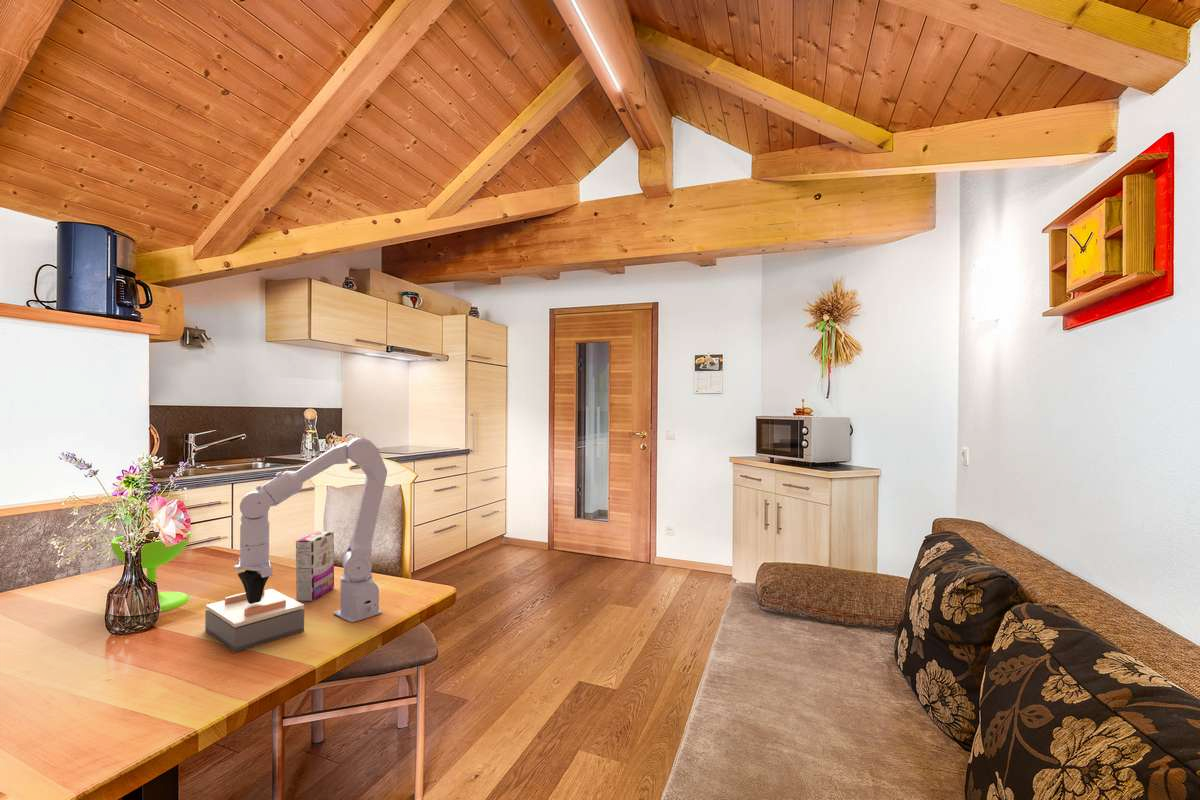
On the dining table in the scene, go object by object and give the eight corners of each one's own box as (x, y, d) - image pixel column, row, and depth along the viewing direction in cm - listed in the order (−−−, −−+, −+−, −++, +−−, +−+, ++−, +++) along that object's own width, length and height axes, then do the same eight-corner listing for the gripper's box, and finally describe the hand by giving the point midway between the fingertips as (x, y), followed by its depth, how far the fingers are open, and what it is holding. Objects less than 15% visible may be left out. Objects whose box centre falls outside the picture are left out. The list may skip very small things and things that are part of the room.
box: (304, 631, 125) (304, 609, 125) (234, 652, 114) (234, 629, 114) (271, 613, 136) (271, 593, 136) (205, 631, 125) (205, 609, 125)
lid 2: (304, 608, 125) (304, 598, 125) (234, 627, 114) (234, 617, 114) (287, 599, 130) (287, 590, 130) (219, 617, 119) (219, 607, 119)
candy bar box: (317, 587, 155) (317, 530, 155) (334, 588, 154) (335, 530, 155) (294, 601, 143) (295, 540, 144) (313, 602, 143) (313, 540, 144)
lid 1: (287, 599, 130) (287, 590, 130) (219, 617, 119) (219, 607, 119) (271, 591, 136) (271, 583, 136) (205, 608, 125) (205, 598, 125)
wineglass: (94, 619, 131) (95, 545, 131) (132, 597, 147) (132, 531, 147) (171, 613, 135) (172, 541, 136) (200, 592, 151) (200, 527, 151)
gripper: (223, 542, 126) (222, 600, 126) (247, 552, 117) (247, 614, 117) (256, 536, 132) (256, 592, 132) (282, 545, 123) (281, 605, 123)
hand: (254, 602), depth 125 cm, fingers closed
